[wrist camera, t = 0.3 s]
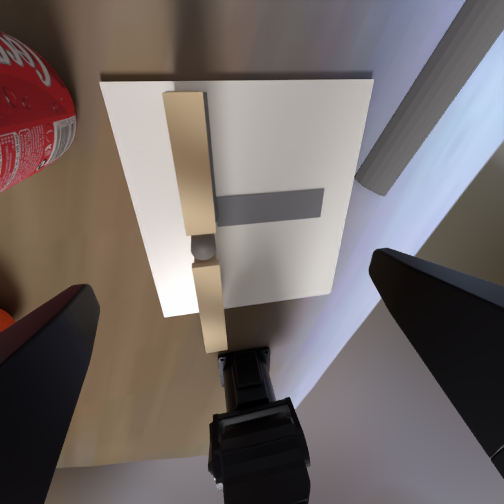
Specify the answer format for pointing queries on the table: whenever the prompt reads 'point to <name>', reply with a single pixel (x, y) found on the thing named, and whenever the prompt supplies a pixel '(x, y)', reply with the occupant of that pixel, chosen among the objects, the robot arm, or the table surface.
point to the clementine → (5, 320)
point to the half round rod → (432, 92)
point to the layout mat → (246, 182)
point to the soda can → (31, 113)
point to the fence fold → (210, 303)
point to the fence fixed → (192, 168)
